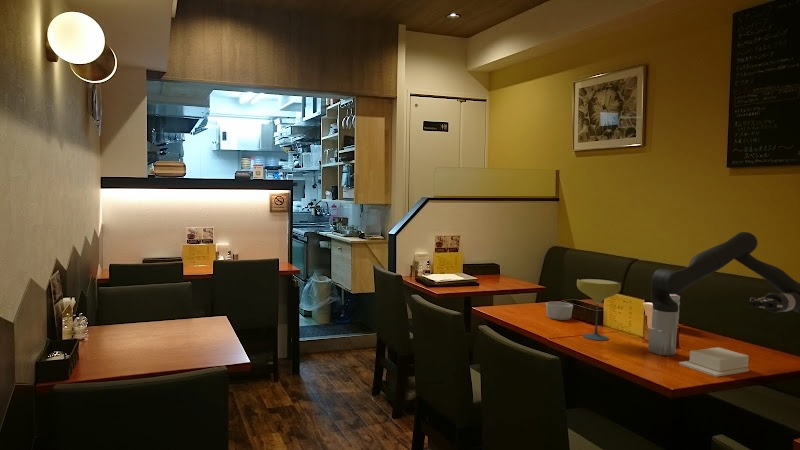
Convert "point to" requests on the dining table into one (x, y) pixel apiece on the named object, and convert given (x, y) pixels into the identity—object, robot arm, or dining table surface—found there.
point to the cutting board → (712, 372)
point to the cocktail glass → (598, 296)
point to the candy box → (677, 300)
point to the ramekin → (559, 310)
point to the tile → (719, 359)
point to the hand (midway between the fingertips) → (751, 304)
